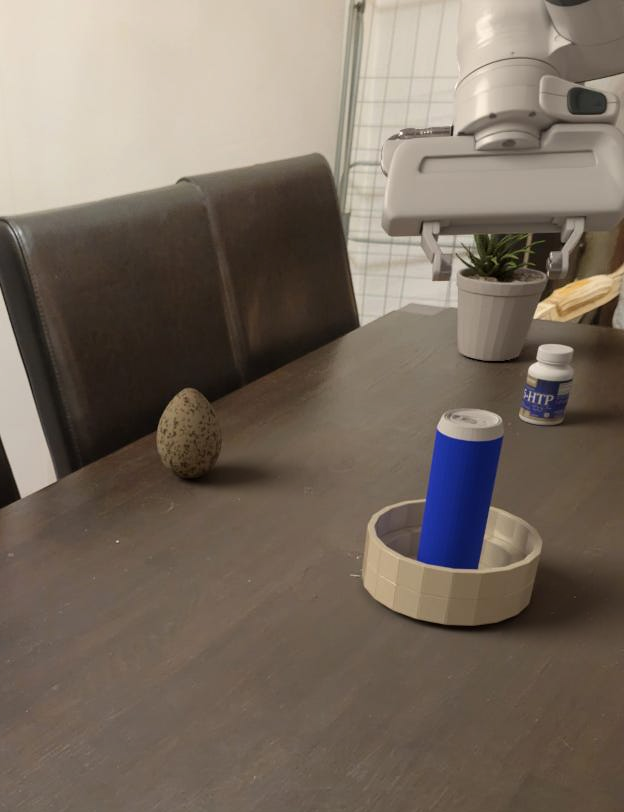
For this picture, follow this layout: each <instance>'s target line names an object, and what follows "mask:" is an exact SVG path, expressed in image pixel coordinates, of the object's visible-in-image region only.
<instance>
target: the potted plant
mask: <svg viewBox="0 0 624 812" xmlns="http://www.w3.org/2000/svg"><path fill="white" fill-rule="evenodd" d="M534 234H536V233H518V234H516V235H514V236H512V235H513V234H506V236H504V237H503V238H502V239H500V241H499V242H498V243H497V244H496V241H497V235H498V234H491V239H490V236H489V234H479V235H473V238H474V242H475V247H476V250H477V251H476V252H477V254H478V256H479V257H476V256H475V255H474V254H473V253H472V252H471V251H470V250H471V245H469V246H468V247H467V246H466V245H465V244H464V243H463V242H460V245H461V246H462V248H464V250H465V251H466V252H465V255H466V257H467V259H469V260H470V263H471V264H470V263H468V262H467V261H465V260H464V259H463V258H462V257H461V256H459V255H458V253H457V252H455V255H456V257H457V258H458V259H459V260H460V262H461V263H462V264H463V265H465V266H466V267H465V268H462V269H459V270H458V271H457V272H456V287H457V350H459V351H458V352H460V353H462V354H464V355H466V356H468V357H471V358H475V359H480V360H489V361H490V360H492V361H501V360H502V361H503V360H509V361H511V360H510V359H513V358H515V359H517V358H518V357H519V356H520V355H521V353H522V350H523V347H524V344H525V343H526V339H527V336H528V333H529V331H530V328H531V325H532V322H533V319H534V317H535V314H536V311H537V308H538V307H539V303H540V300H541V297H542V295H543V293H544V291H545V290H546V287H547V284H548V280H549V279H546V273H545V272H543V271H540V270H538V269H537V270H536V269H533V268H529V267H525V266H529V265H531V266H536V264H534V263H533V262H526V261H524V262H522V263H520V264H518V265H517V264H516V263H515V262H514V260H515V259H517V260H519V257H518V256H519V255H520V254H522V253H529V254H535V252H534V251H532V250H529V248H531V247H533V246H535V245H538V244H540V243H544V242H545V240H540V241H534V242H532V243H530V244H528V245H525V246H523V247H522V248H520V249H519V250H515V251H513V252H511V253H509V251H510V250H511V249H512V248H513V247H515V245H516V244H518V243H519V242H521V241H522V240H523V239H525V238H528V237H529V236H532V235H534ZM511 240H513V241H512V242H511V243H509V242H510V241H511ZM460 353H459V354H460ZM516 357H517V358H516ZM513 360H514V359H513Z"/></svg>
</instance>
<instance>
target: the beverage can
mask: <svg viewBox="0 0 624 812" xmlns="http://www.w3.org/2000/svg"><path fill="white" fill-rule="evenodd" d="M504 428H505V427H504V422H503V418H502V417H501V416H500V415H498V414H497V413H494V412H492V411H489V410H485V409H479V408H469V407H468V408H466V407H465V408H455V409H450V410H447V411H445V412H444V413H443V414H442V416H441V418H440V420H439V421H438V424H437V425H436V431H435V438H434V443H433V451H432V458H431V463H430V470H429V476H428V483H427V490H426V496H425V499H426V502H425V509H424V516H423V522H422V529H421V535H420V542H419V548H418V555H417V561H419V562H422V563H425V564H429V565H435V566H441V567H447V568H452V569H474V570H478V566H479V561H480V556H481V551H482V546H483V540H484V535H485V530H486V525H487V520H488V514H489V509H490V506H491V504H492V499H493V493H494V492H493V491H494V487H495V483H496V477H497V472H498V467H499V463H500V457H501V453H502V452H501V451H502V446H503V442H504V441H503V440H504V437H505V436H504V435H505V429H504Z"/></svg>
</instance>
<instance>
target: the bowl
mask: <svg viewBox="0 0 624 812" xmlns="http://www.w3.org/2000/svg"><path fill="white" fill-rule="evenodd" d="M425 502H426V498H421V499H411V500H405V501H400V502H397V503H394V504H390V505H386V506H385V507H383V508H382V509H380V510H379V511H377V512H376V513H375V512H374V514H373V515H372V516H371V517H370V518H371V519H370V520H369V521H368V522H367V526H366V535H365V543H364V552H363V560H362V570H361V579H362V583H363V587H364V588H365V590H366V591H367V592H368V593H369V594H370V595H371V596H372V598H373V599H374V600H376V601H377V602H379V603H380V604H382V605H384V606H385V607H387V608H388V609H390V610H391V611H392V612H393V611H394V612H395V613H398V614H402V615H404V616H407V617H410V618H412V619H414V620H420V621H424V622H429V623H434V624H441V625H445V626H472V627H473V626H480V625H488V624H496V623H500V622H503V621H505V620H507V619H510V618H512V617H515V616H517V615H519V614H520V613H521V612H523V610H524V609H525V608H526V607H528V606H529V605H530V601H531V598H532V592H533V588H534V584H535V579H536V576H537V571H538V567H539V562H540V558H541V553H542V550H543V549H542V548H543V544H544V543H543V539H542V538H541V536H540V534H539V532H538V530H537V529H536V528H535V527H534V526H532V525H531V524H529V523H528V522H527V521H526V520H524V519H523V518H521V517H519V516H517V515H515V514H513V513H511V512H509V511H506V510H504V509H501V508H497V507H495V506H491V505H490V509H489V514H488V520H487V525H486V530H485V535H484V540H483V546H482V551H481V556H480V561H479V566H478V570H474V569H452V568H447V567H441V566H435V565H429V564H425V563H422V562H419V561H417V555H418V548H419V542H420V535H421V529H422V522H423V516H424V509H425Z"/></svg>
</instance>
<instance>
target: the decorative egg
mask: <svg viewBox="0 0 624 812" xmlns="http://www.w3.org/2000/svg"><path fill="white" fill-rule="evenodd" d="M222 444H223V433H222V427H221V423H220V421H219V417H218V415H217V413H216V411H215V409H214V407H213V406H212V405H211V403H210V401H208V399H207V398H206V397H205V396H204V395H203V393H201V392H200V391H198V390H197V389H195V388H192V387H187V388H184V389H182V390H181V391H179V392H178V393H177V394H176V395H175V396H173V398H172V399H171V400H170V401H169V403H168V404H167V406H166V407H165V408H164V411H163V413H162V415H161V417H160V418H159V422H158V425H157V432H156V449H157V453H158V455H159V458H160V460H161V462H162V464H163V465H164V467H165V468H166V469H167V471H169V472H170V473H172V474H173V475H175V476H177V477H180V478H183V479H196V478H199V477H202V476H204V475H206V474H207V473H208V472H210V471H211V469H212V468H213V467H214V466H215V464H216V463H217V461H218V459H219V457H220V454H221V451H222V446H223V445H222Z"/></svg>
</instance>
